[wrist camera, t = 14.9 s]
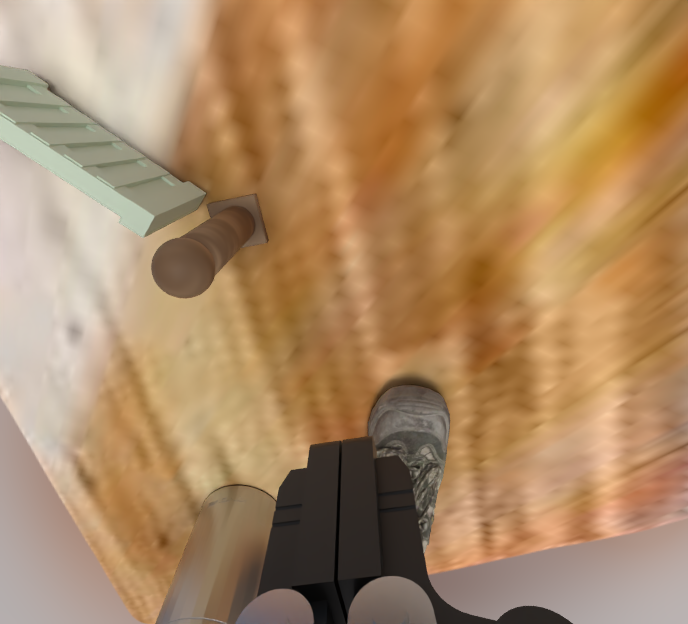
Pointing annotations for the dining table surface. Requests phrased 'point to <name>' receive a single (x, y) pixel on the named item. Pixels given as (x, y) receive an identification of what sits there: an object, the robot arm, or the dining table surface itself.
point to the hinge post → (208, 247)
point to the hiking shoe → (414, 442)
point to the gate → (90, 156)
